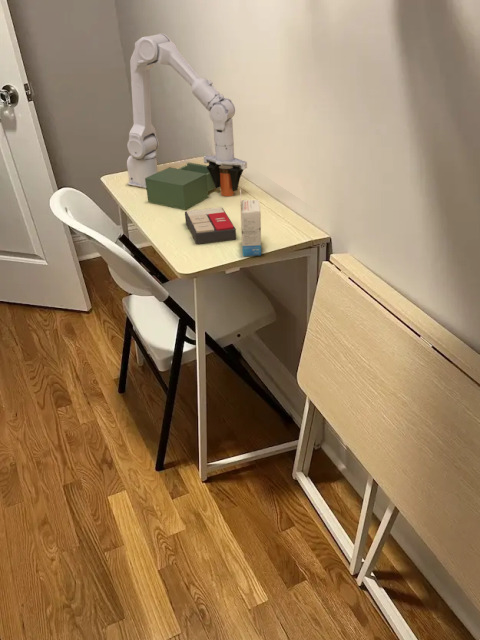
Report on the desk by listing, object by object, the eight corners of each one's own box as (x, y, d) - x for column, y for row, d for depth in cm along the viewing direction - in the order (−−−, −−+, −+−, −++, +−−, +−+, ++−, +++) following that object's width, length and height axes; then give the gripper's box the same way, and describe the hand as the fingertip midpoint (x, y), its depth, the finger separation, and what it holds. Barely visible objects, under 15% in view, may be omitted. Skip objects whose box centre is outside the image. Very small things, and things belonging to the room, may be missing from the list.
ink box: (261, 256, 145) (260, 199, 136) (242, 256, 144) (240, 199, 135) (260, 242, 152) (259, 187, 143) (241, 243, 151) (239, 187, 142)
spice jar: (217, 195, 181) (216, 167, 176) (225, 191, 184) (223, 164, 179) (229, 197, 179) (228, 169, 174) (236, 193, 182) (235, 166, 177)
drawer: (197, 176, 193) (195, 159, 189) (228, 182, 188) (228, 164, 185) (170, 189, 182) (167, 171, 178) (203, 196, 177) (201, 177, 174)
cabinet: (172, 190, 184) (169, 167, 179) (208, 197, 179) (206, 173, 174) (148, 202, 175) (144, 178, 170) (185, 210, 170) (183, 185, 166)
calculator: (195, 231, 148) (184, 208, 159) (196, 246, 151) (185, 223, 161) (236, 226, 151) (222, 204, 161) (236, 241, 153) (223, 219, 164)
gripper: (196, 143, 172) (200, 188, 180) (237, 150, 167) (239, 196, 175) (209, 138, 177) (212, 182, 185) (249, 144, 172) (251, 189, 180)
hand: (226, 188), depth 180 cm, fingers open, 6 cm apart
